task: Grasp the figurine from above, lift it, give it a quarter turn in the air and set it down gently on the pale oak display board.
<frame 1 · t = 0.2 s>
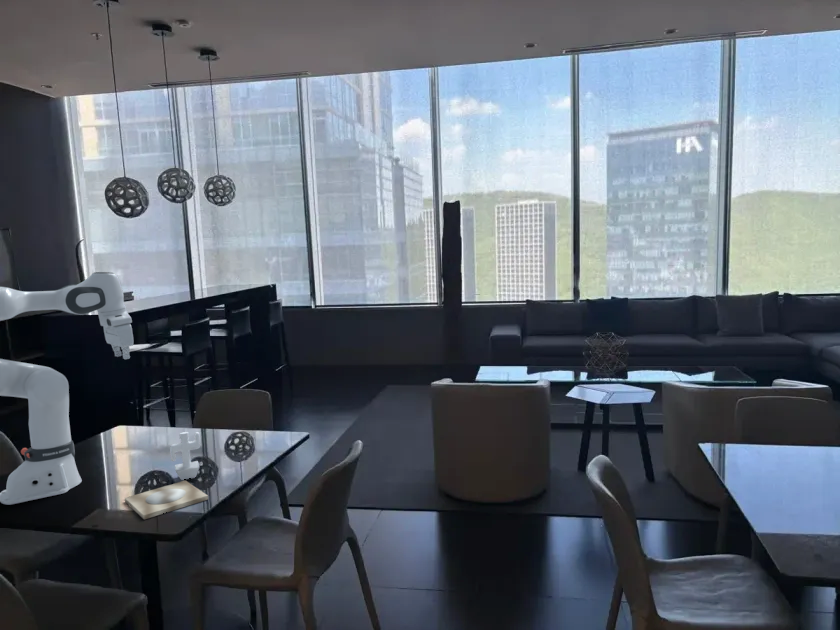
hand: (122, 357, 204), 39 cm above the table, tool pointing down, fingers open, 8 cm apart
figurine: (188, 477, 195), on the table
oak board: (166, 500, 176), on the table
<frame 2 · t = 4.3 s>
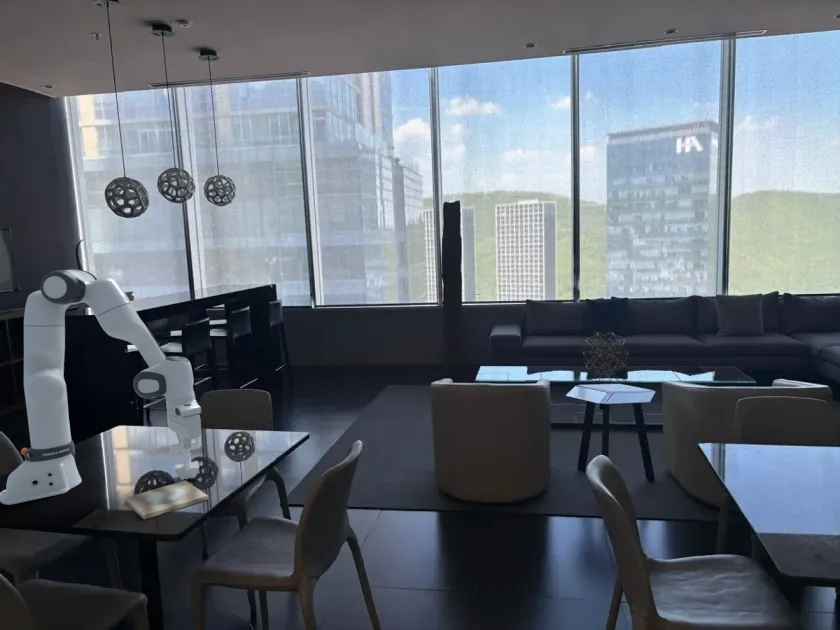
hand: (185, 447, 194), 10 cm above the table, tool pointing down, fingers closed on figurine, 3 cm apart
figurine: (188, 477, 195), on the table, touching gripper
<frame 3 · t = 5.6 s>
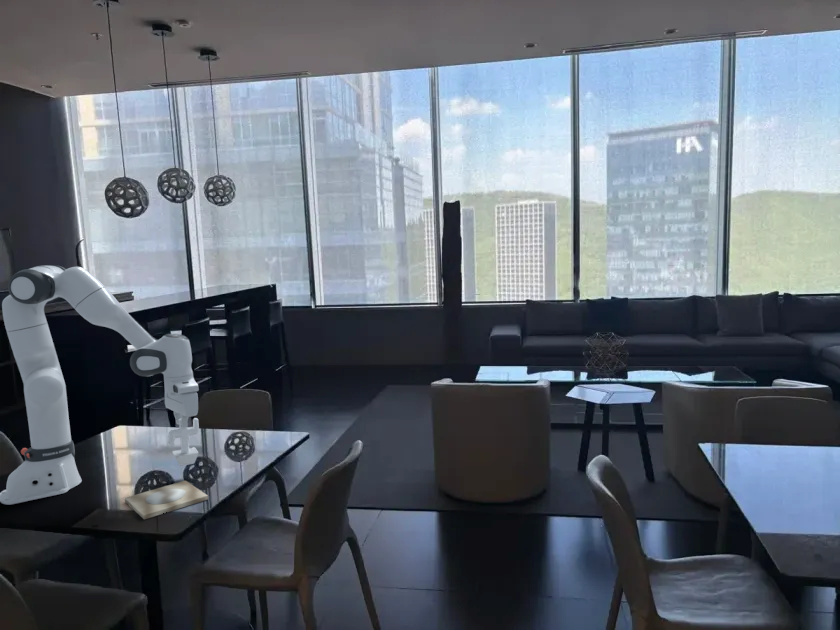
hand: (181, 425, 193), 17 cm above the table, tool pointing down, fingers closed on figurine, 3 cm apart
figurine: (186, 463, 195), point 4 cm above the table, touching gripper
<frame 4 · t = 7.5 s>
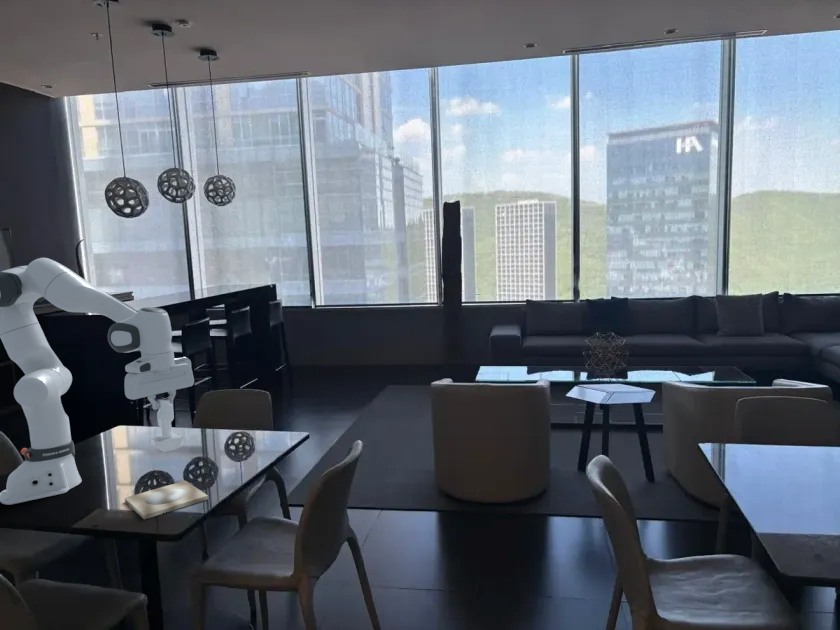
hand: (163, 407, 177), 27 cm above the table, tool pointing down, fingers closed on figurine, 3 cm apart
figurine: (168, 449, 178), point 14 cm above the table, touching gripper
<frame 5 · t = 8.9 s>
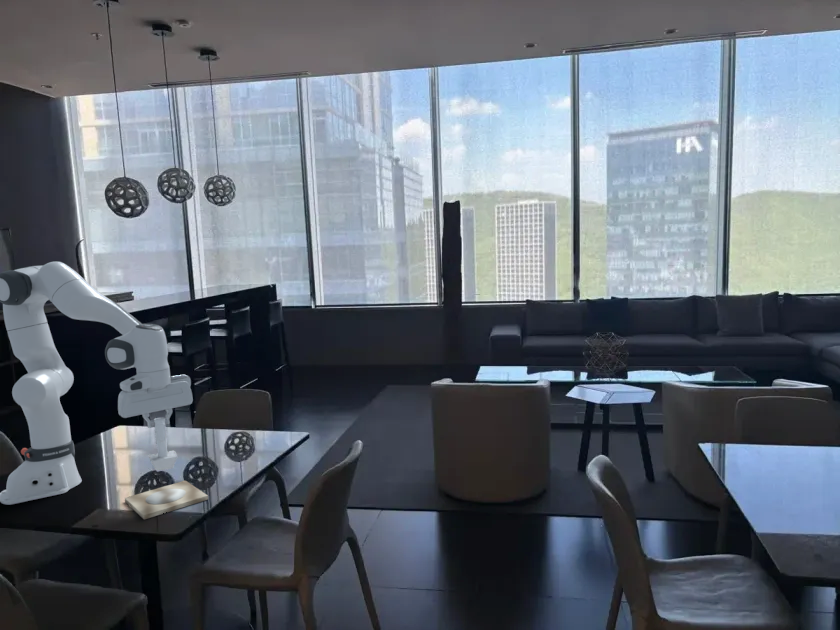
hand: (158, 425, 174), 23 cm above the table, tool pointing down, fingers closed on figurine, 3 cm apart
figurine: (164, 468, 174), point 10 cm above the table, touching gripper
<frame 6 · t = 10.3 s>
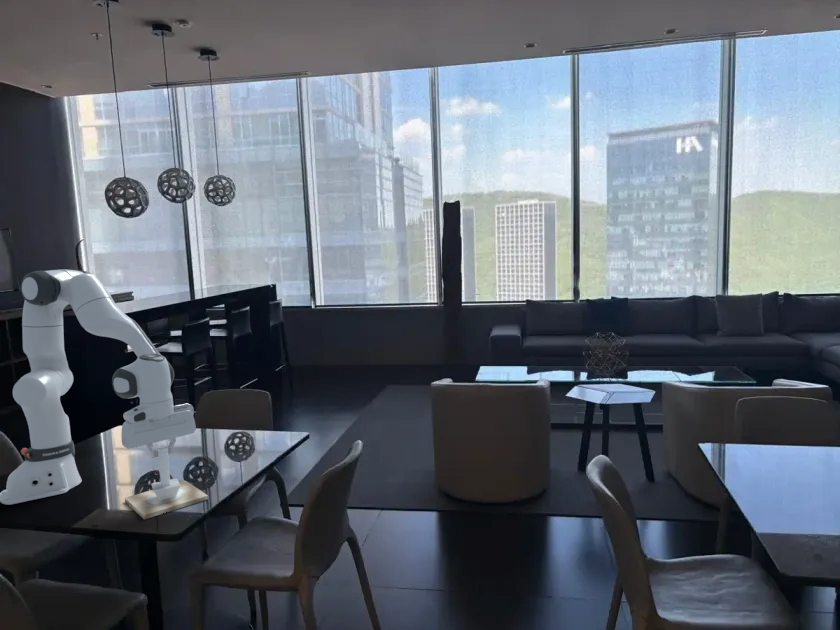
hand: (162, 455, 175), 14 cm above the table, tool pointing down, fingers closed on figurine, 3 cm apart
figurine: (166, 497, 175), point 1 cm above the table, touching gripper, oak board
when the fingers open (13 cm above the table, at t = 11.2 s): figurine stays where it is, resting on oak board.
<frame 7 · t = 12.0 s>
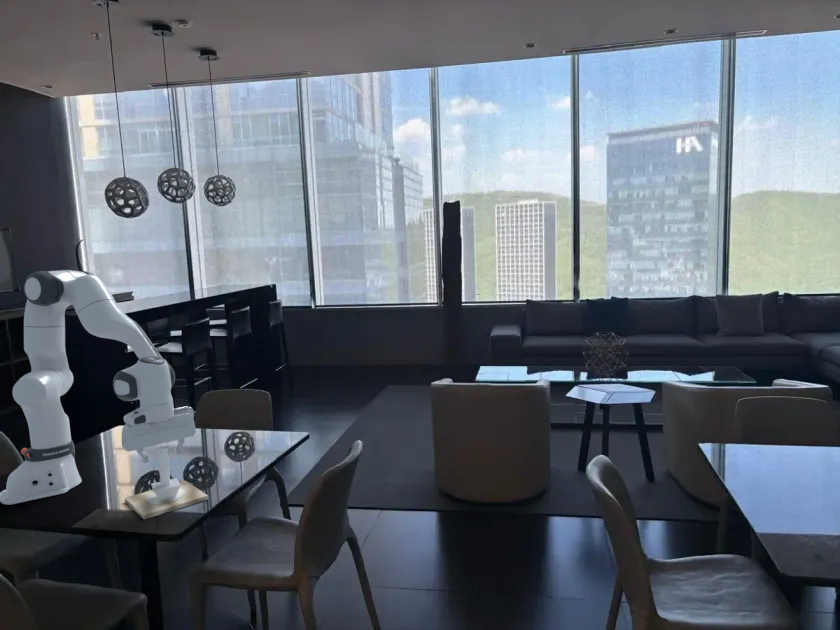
hand: (162, 457, 175), 13 cm above the table, tool pointing down, fingers open, 8 cm apart
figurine: (166, 497, 175), point 1 cm above the table, touching oak board
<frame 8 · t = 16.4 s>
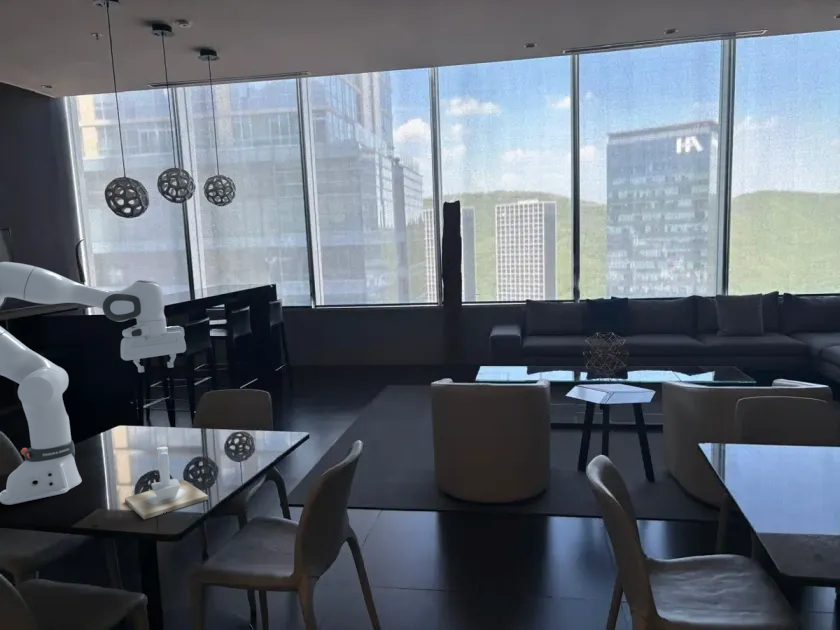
hand: (156, 369, 198), 35 cm above the table, tool pointing down, fingers open, 8 cm apart
nothing on the table moved.
at the end: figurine 0.6 cm from the oak board (horizontally); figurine tilted 0°; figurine touching oak board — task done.
